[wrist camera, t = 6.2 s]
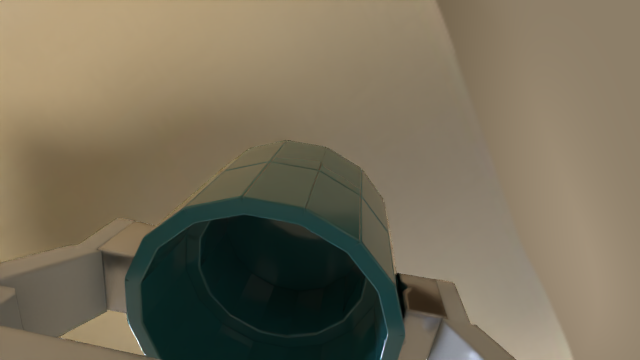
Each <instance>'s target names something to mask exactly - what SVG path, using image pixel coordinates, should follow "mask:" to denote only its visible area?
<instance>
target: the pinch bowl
mask: <svg viewBox="0 0 640 360" xmlns="http://www.w3.org/2000/svg"><path fill="white" fill-rule="evenodd" d="M124 283H125V298H126V312H127V321H128V324H129V326H130V328H131V330H132V332H133V334H134V336H135V338H136V340H137V342H138V344H139V345H140V347H141V349H142V351H143V353H144V355H145V356H147V357H151V358H156V359H161V360H398V358H399V355H400V352H401V349H402V345H403V342H404V339H405V333H406V331H405V324H404V318H403V311H402V305H401V298H400V291H399V285H398V278H397V272H396V265H395V259H394V252H393V245H392V239H391V232H390V227H389V222H388V217H387V212H386V207H385V203H384V201H383V198H382V196H381V195H380V193H379V192H378V191H377V189H376V188H375V186H374V185H373V184H372V182H371V181H370V180H369V178H368V177H367V175H366V174H365V173H364V171H363V170H362V169H361V168H360V167H358V166H357V165H355V164H354V163H352V162H350V161H349V160H347V159H345V158H344V157H342V156H341V155H339V154H337V153H336V152H334V151H333V150H331V149H329V148H327V147H323V146H318V145H312V144H306V143H301V142H295V141H289V140H288V141H286V140H285V141H280V142H276V143H271V144H267V145H262V146H258V147H253V148H250V149H249V150H246V151H245V152H244V153H242V154H241V155H240V156H238V157H237V158H236V159H234V160H233V161H232V162H230V163H229V164H228V165H226V166H225V167H223V168H222V169H221V170H220V171H219V172H217V173H216V174H215V175H214V176H213V177H212V178H211V179H209V180H208V181H207V182H206V183H205V184H204V185H202V186H201V187H200V188H199V189H198V190H197V191H196V192H194V193H193V194H192V195H191V196H190V197H189V198H187V199H186V200H185V201H184V202H183V203H182V204H180V205H179V206H178V207H177V208H176V209H175V210H174V211H172V212H171V213H170V214H169V215H168V216H167V217H165V218H164V219H163V220H162V221H161V222H160V223H159V224H157V225H156V226H155V227H154V228H153V229H152V230H150V231H149V232H148V233H147V234H146V235H145V236H144V237H143V238H142V240H141V243H140V245H139V247H138V249H137V251H136V253H135V256H134V258H133V260H132V262H131V264H130V266H129V269H128V271H127V273H126V275H125V279H124Z"/></svg>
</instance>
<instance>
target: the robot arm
mask: <svg viewBox="0 0 640 360" xmlns="http://www.w3.org/2000/svg"><path fill="white" fill-rule="evenodd" d="M155 226H156V225H152V224H147V223H142V222H136V221H133V220H128V219H122V218H118V219H115V220H113V221H112V222H110V223H109V224H108V225H106V226H105V227H103V228H102V229H100V230H99V231H97V232H96V233H94V234H93V235H91V236H90V237H89V238H87V239H86V240H84V241H83V242H81V243H80V244H78V245H77V246H75V245H68V246H64V247H60V248H56V249H52V250H48V251H44V252H41V253H37V254H33V255H29V256H25V257H21V258H17V259H13V260H9V261H5V262H1V263H0V360H161V359H156V358H151V357H147V356H142V355H137V354H133V353H128V352H123V351H119V350H114V349H109V348H105V347H100V346H95V345H91V344H86V343H81V342H77V341H72V340H67V339H63V338H58V337H59V336H61V335H63V334H65V333H67V332H69V331H71V330H73V329H74V328H76V327H78V326H80V325H82V324H84V323H86V322H88V321H90V320H91V319H93V318H95V317H97V316H99V315H101V314H103V313H105V312H107V310H112V311H117V312H123V313H127V312H126V298H125V283H124V279H125V275H126V273H127V271H128V269H129V266H130V264H131V262H132V260H133V258H134V256H135V253H136V251H137V249H138V247H139V245H140V243H141V240H142V238H143V237H144V236H145V235H146V234H147V233H148V232H149V231H150V230H152V229H153V228H154V227H155ZM397 278H398V285H399V291H400V298H401V305H402V311H403V318H404V324H405V331H406V333H405V339H404V342H403V345H402V349H401V352H400V355H399V358H398V360H516V359H515V358H514V357H513V356H511V355H510V354H509V353H508V352H507V351H506V350H505V349H503V348H502V347H501V346H500V345H499V344H498V343H496V342H495V341H494V340H493V339H492V338H491V337H489V336H488V335H487V334H486V333H485V332H484V331H482V330H481V329H480V328H479V327H478V326H477V325H473V324H470V321H469V319H468V316H467V314H466V311H465V309H464V306H463V304H462V301H461V299H460V296H459V294H458V291H457V289H456V286H455V284H454V283H453V282H450V281H443V280H437V279H430V278H424V277H418V276H412V275H406V274H401V273H397Z"/></svg>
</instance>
